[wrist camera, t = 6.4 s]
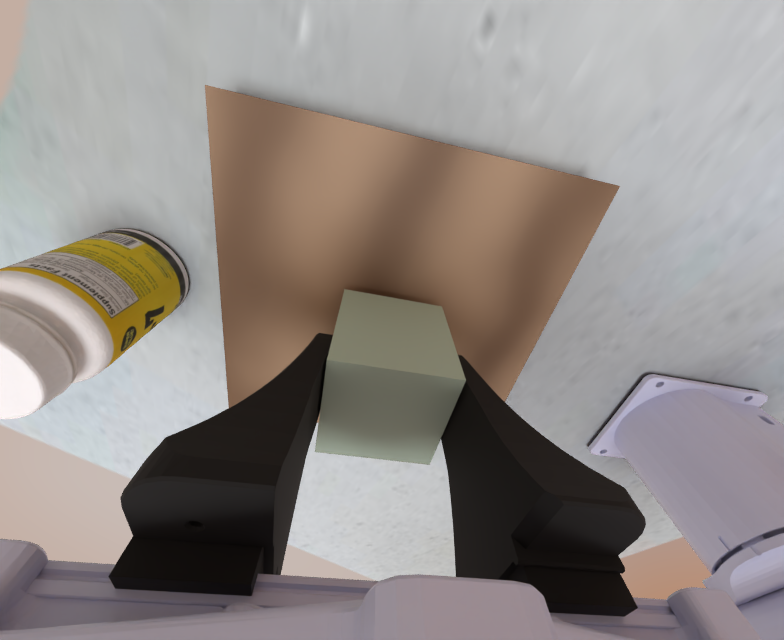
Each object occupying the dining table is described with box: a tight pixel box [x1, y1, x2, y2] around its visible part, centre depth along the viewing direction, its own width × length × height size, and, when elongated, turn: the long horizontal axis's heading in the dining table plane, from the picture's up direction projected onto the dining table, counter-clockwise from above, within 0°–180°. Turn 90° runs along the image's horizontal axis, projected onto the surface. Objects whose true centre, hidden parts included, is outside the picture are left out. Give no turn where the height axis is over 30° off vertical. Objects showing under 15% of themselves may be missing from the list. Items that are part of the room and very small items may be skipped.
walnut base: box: [205, 85, 620, 422], centre depth 17 cm, size 16×16×2 cm
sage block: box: [315, 289, 466, 465], centre depth 13 cm, size 4×4×5 cm
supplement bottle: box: [0, 229, 189, 419], centre depth 13 cm, size 5×5×8 cm
